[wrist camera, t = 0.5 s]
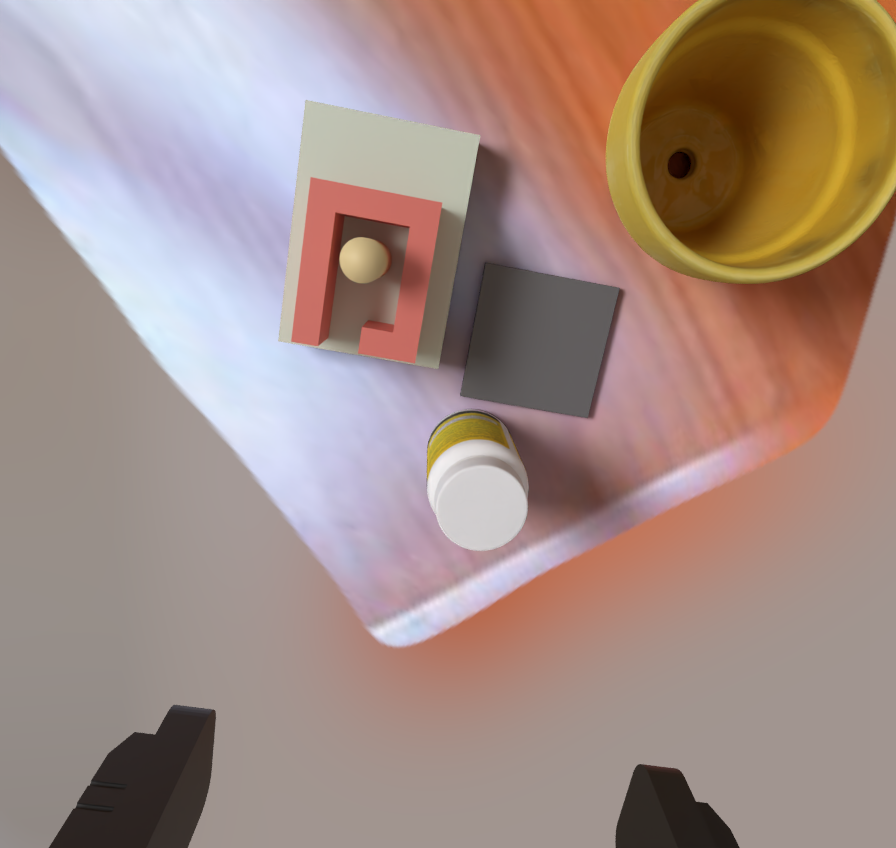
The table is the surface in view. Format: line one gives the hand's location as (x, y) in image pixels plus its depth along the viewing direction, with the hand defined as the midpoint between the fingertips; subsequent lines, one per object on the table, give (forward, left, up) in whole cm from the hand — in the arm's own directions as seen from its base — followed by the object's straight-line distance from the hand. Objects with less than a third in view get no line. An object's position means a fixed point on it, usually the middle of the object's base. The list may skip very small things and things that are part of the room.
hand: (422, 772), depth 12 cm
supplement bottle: (+1, +2, -24) cm, 24 cm away
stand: (-9, -4, -24) cm, 26 cm away
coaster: (-6, +5, -24) cm, 25 cm away
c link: (-8, -4, -22) cm, 23 cm away
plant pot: (-15, +10, -24) cm, 30 cm away
